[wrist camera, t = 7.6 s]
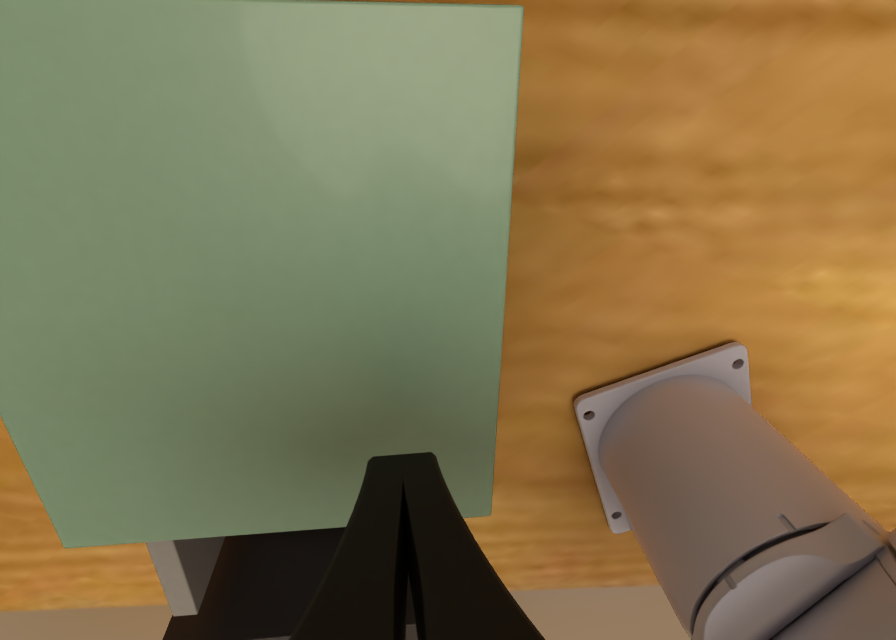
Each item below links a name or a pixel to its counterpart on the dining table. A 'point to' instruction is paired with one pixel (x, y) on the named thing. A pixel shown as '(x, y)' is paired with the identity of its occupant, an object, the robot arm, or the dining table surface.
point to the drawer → (246, 583)
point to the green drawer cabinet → (250, 255)
